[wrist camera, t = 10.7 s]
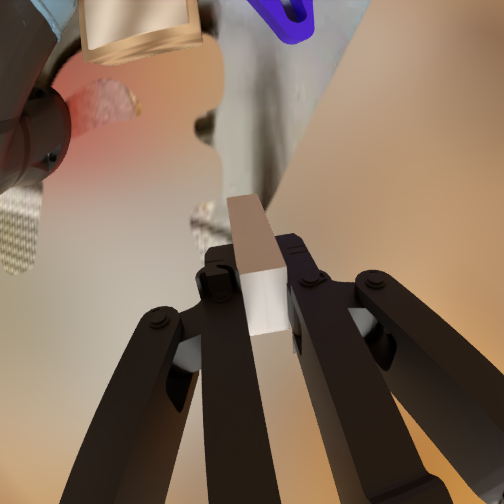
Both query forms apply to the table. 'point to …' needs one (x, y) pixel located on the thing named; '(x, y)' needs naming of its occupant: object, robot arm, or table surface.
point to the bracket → (286, 30)
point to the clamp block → (136, 28)
